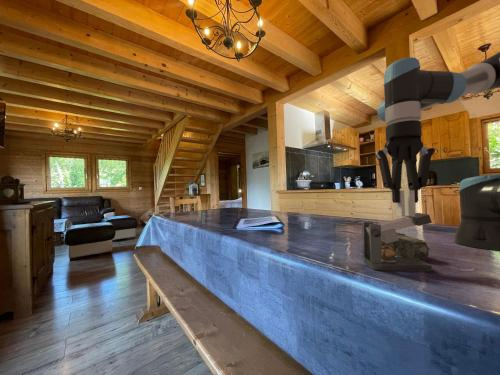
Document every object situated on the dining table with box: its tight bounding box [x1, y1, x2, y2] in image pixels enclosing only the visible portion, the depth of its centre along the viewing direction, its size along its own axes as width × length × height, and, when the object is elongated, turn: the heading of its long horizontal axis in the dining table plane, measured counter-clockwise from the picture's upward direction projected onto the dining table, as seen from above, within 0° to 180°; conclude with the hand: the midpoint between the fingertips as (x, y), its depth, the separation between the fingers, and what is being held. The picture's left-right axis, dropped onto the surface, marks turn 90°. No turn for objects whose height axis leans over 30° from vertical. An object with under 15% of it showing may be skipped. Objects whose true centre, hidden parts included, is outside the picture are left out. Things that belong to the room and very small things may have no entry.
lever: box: [365, 212, 432, 244], centre depth 56 cm, size 14×5×4 cm, turn 81°
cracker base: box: [362, 221, 433, 273], centre depth 56 cm, size 13×6×11 cm, turn 81°
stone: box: [381, 231, 430, 260], centre depth 66 cm, size 14×7×10 cm, turn 30°
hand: (405, 215), depth 56 cm, fingers open, 2 cm apart
